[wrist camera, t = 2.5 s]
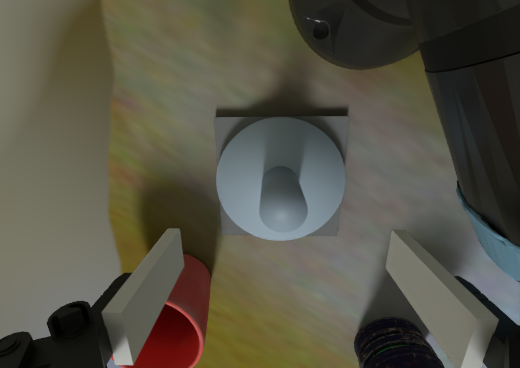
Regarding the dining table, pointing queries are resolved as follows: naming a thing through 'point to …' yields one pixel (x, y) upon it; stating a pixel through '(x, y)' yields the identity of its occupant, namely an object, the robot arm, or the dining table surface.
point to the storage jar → (394, 346)
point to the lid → (280, 178)
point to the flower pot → (179, 322)
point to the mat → (233, 125)
